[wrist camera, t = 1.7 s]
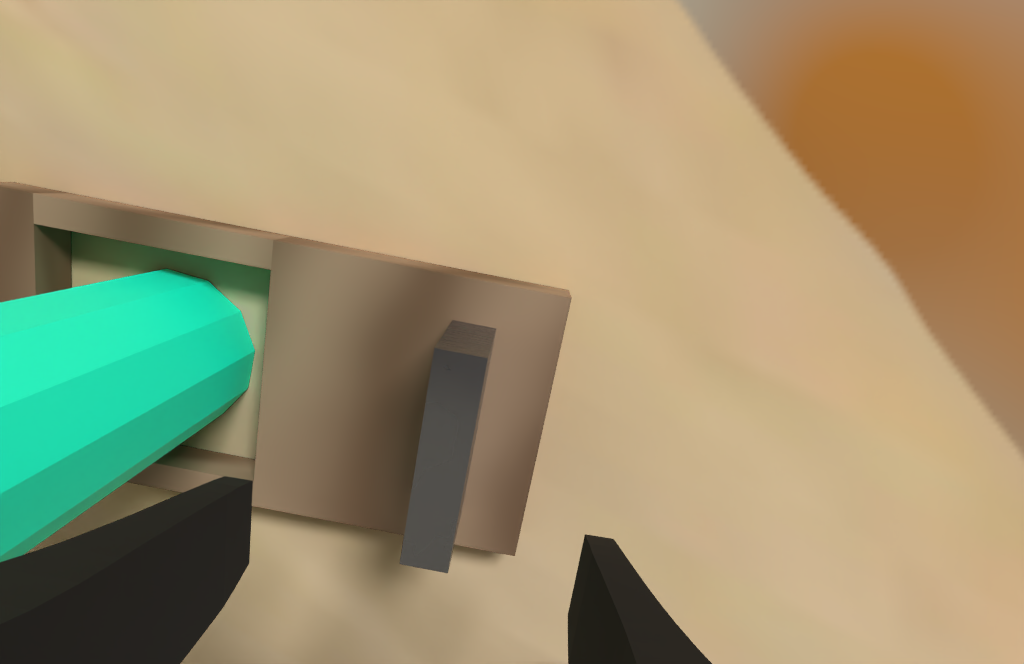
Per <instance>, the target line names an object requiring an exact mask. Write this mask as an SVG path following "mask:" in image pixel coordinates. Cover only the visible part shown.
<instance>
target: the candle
mask: <svg viewBox="0 0 1024 664" xmlns="http://www.w3.org/2000/svg"><path fill="white" fill-rule="evenodd" d="M254 354H255V349H254V347H253V344H252V341H251V338H250V336H249V333H248V330H247V327H246V325H245V322H244V319H243V316H242V314H241V311H240V310H239V309H238V308H237V307H236V306H235V305H233V304H232V303H231V302H230V301H229V300H228V299H227V298H226V297H225V296H224V295H223V294H222V293H221V292H220V291H219V290H217V289H216V288H215V287H214V286H213V285H212V284H211V283H210V282H209V281H207V280H204V279H200V278H197V277H193V276H190V275H187V274H183V273H180V272H176V271H173V270H169V269H162V270H158V271H153V272H148V273H143V274H138V275H133V276H128V277H123V278H118V279H113V280H108V281H103V282H99V283H94V284H89V285H84V286H79V287H74V288H69V289H64V290H59V291H54V292H49V293H45V294H40V295H35V296H30V297H25V298H20V299H15V300H10V301H5V302H0V562H3V561H6V560H9V559H12V558H15V557H18V556H22V555H24V554H25V553H27V552H28V551H29V550H31V549H32V548H34V547H35V546H36V545H38V544H39V543H41V542H42V541H44V540H45V539H46V538H48V537H49V536H51V535H52V534H53V533H55V532H56V531H58V530H59V529H60V528H62V527H63V526H65V525H66V524H68V523H69V522H70V521H72V520H73V519H75V518H76V517H77V516H79V515H80V514H82V513H83V512H85V511H86V510H87V509H89V508H90V507H92V506H93V505H94V504H96V503H97V502H99V501H100V500H102V499H103V498H104V497H106V496H107V495H109V494H110V493H111V492H113V491H114V490H116V489H117V488H119V487H120V486H121V485H123V484H124V483H126V482H127V481H128V480H130V479H131V478H133V477H134V476H135V475H137V474H138V473H140V472H141V471H143V470H144V469H145V468H147V467H148V466H150V465H151V464H152V463H154V462H155V461H157V460H158V459H160V458H161V457H162V456H164V455H165V454H167V453H168V452H169V451H171V450H172V449H174V448H175V447H177V446H178V445H179V444H181V443H182V442H184V441H185V440H186V439H188V438H189V437H191V436H192V435H194V434H195V433H196V432H198V431H199V430H201V429H202V428H203V427H205V426H206V425H208V424H209V423H211V422H212V421H213V420H215V419H216V418H218V417H219V416H220V415H222V414H223V413H224V412H225V411H226V410H227V409H228V408H229V407H230V406H231V405H232V404H233V403H234V402H235V401H236V400H237V399H238V398H239V397H240V396H241V395H242V394H243V393H244V392H245V391H246V390H247V389H248V386H249V381H250V375H251V370H252V364H253V359H254Z"/></svg>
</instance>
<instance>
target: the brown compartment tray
mask: <svg viewBox="0 0 1024 664" xmlns="http://www.w3.org/2000/svg"><path fill="white" fill-rule="evenodd" d="M71 231H74V232H79V233H84V234H89V235H95V236H100V237H105V238H110V239H115V240H120V241H125V242H131V243H136V244H141V245H146V246H151V247H156V248H161V249H167V250H172V251H177V252H182V253H187V254H192V255H197V256H203V257H208V258H213V259H218V260H223V261H228V262H233V263H239V264H244V265H249V266H254V267H259V268H264V269H270V270H271V275H270V287H269V299H268V312H267V324H266V336H265V349H264V361H263V373H262V385H261V398H260V410H259V422H258V435H257V447H256V459H255V460H254V459H249V458H244V457H239V456H234V455H228V454H223V453H218V452H213V451H207V450H202V449H197V448H192V447H187V446H181V445H178V446H177V447H175V448H174V449H172V450H171V451H169V452H168V453H167V454H165V455H164V456H162V457H161V458H160V459H158V460H157V461H155V462H154V463H152V464H151V465H150V466H148V467H147V468H145V469H144V470H143V471H141V472H140V473H138V474H137V475H135V476H134V477H133V478H131V479H130V480H128V481H127V482H130V483H135V484H140V485H145V486H151V487H156V488H161V489H166V490H171V491H177V492H182V493H184V492H186V491H188V490H191V489H193V488H195V487H198V486H200V485H202V484H205V483H207V482H210V481H212V480H215V479H218V478H221V477H224V476H227V477H234V478H240V479H246V480H252V481H253V489H252V506H255V507H260V508H266V509H271V510H276V511H281V512H287V513H292V514H297V515H302V516H308V517H313V518H318V519H323V520H329V521H334V522H339V523H344V524H349V525H355V526H360V527H365V528H370V529H376V530H381V531H386V532H391V533H397V534H402V535H404V540H403V546H402V552H401V558H400V564H402V565H407V566H413V567H418V568H423V569H428V570H434V571H439V572H444V573H448V570H449V565H450V561H451V557H452V552H453V548H454V545H459V546H465V547H470V548H475V549H480V550H486V551H491V552H496V553H501V554H506V555H512V556H515V552H516V548H517V543H518V539H519V534H520V529H521V525H522V520H523V516H524V511H525V507H526V502H527V498H528V493H529V489H530V484H531V480H532V475H533V470H534V466H535V461H536V457H537V452H538V448H539V443H540V439H541V434H542V430H543V425H544V421H545V416H546V411H547V407H548V402H549V398H550V393H551V389H552V384H553V380H554V375H555V371H556V366H557V362H558V357H559V353H560V348H561V343H562V339H563V334H564V330H565V325H566V321H567V316H568V312H569V307H570V303H571V295H570V293H569V290H564V289H559V288H554V287H548V286H543V285H538V284H533V283H528V282H523V281H518V280H513V279H507V278H502V277H497V276H492V275H487V274H482V273H477V272H471V271H466V270H461V269H456V268H451V267H446V266H441V265H436V264H430V263H425V262H420V261H415V260H410V259H405V258H400V257H395V256H389V255H384V254H379V253H374V252H369V251H364V250H359V249H353V248H348V247H343V246H338V245H333V244H328V243H323V242H318V241H312V240H307V239H302V238H297V237H292V236H287V235H282V234H277V233H271V232H266V231H261V230H256V229H251V228H246V227H241V226H235V225H230V224H225V223H220V222H215V221H210V220H205V219H200V218H194V217H189V216H184V215H179V214H174V213H169V212H164V211H159V210H153V209H148V208H143V207H138V206H133V205H128V204H123V203H117V202H112V201H107V200H102V199H97V198H92V197H87V196H82V195H76V194H71V193H66V192H61V191H56V190H51V189H46V188H40V187H35V186H30V185H25V184H20V183H15V182H0V302H5V301H10V300H15V299H20V298H25V297H30V296H35V295H40V294H45V293H49V292H54V291H59V290H64V289H69V288H71Z"/></svg>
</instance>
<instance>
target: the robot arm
mask: <svg viewBox="0 0 1024 664" xmlns="http://www.w3.org/2000/svg"><path fill="white" fill-rule="evenodd" d="M252 489H253V481H252V480H246V479H240V478H234V477H227V476H224V477H221V478H218V479H215V480H212V481H210V482H207V483H205V484H202V485H200V486H198V487H195V488H193V489H191V490H188V491H186V492H184V493H181V494H179V495H177V496H174V497H172V498H170V499H167V500H165V501H163V502H160V503H158V504H156V505H153V506H151V507H149V508H146V509H144V510H142V511H139V512H137V513H135V514H132V515H130V516H128V517H125V518H123V519H120V520H117V521H115V522H112V523H110V524H107V525H105V526H102V527H100V528H97V529H94V530H92V531H89V532H87V533H84V534H82V535H79V536H77V537H74V538H71V539H69V540H66V541H63V542H60V543H58V544H55V545H52V546H49V547H46V548H43V549H40V550H37V551H34V552H31V553H28V554H25V555H22V556H18V557H15V558H12V559H9V560H6V561H3V562H0V664H180V663H181V662H182V661H183V659H184V658H185V657H186V655H187V654H188V653H189V652H190V650H191V649H192V648H193V646H194V645H195V644H196V642H197V641H198V640H199V639H200V637H201V636H202V635H203V633H204V632H205V631H206V629H207V628H208V627H209V625H210V624H211V623H212V621H213V620H214V619H215V618H216V616H217V615H218V613H219V612H220V611H221V609H222V608H223V607H224V605H225V603H226V602H227V600H228V598H229V597H230V595H231V594H232V592H233V590H234V589H235V587H236V585H237V583H238V582H239V580H240V578H241V576H242V575H243V573H244V571H245V569H246V568H247V566H248V564H249V554H250V532H251V511H252ZM568 663H569V664H712V663H711V662H710V661H709V660H708V659H707V658H706V657H705V656H704V655H703V654H702V653H701V652H700V650H699V649H698V648H697V647H696V646H695V645H694V644H693V643H692V642H691V640H690V639H689V638H688V637H687V636H686V635H685V633H684V632H683V631H682V630H681V629H680V628H679V626H678V625H677V624H676V623H675V622H674V621H673V619H672V618H671V617H670V616H669V614H668V613H667V612H666V611H665V609H664V608H663V607H662V606H661V604H660V603H659V602H658V600H657V599H656V598H655V596H654V595H653V594H652V592H651V591H650V590H649V589H648V587H647V586H646V584H645V583H644V582H643V580H642V579H641V577H640V576H639V575H638V573H637V572H636V570H635V569H634V568H633V566H632V565H631V563H630V562H629V560H628V559H627V558H626V556H625V555H624V553H623V552H622V550H621V549H620V548H619V546H618V545H617V543H616V542H615V541H614V539H610V538H604V537H598V536H591V535H585V537H584V542H583V547H582V551H581V556H580V561H579V566H578V570H577V575H576V580H575V584H574V589H573V594H572V598H571V603H570V608H569V612H568Z"/></svg>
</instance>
